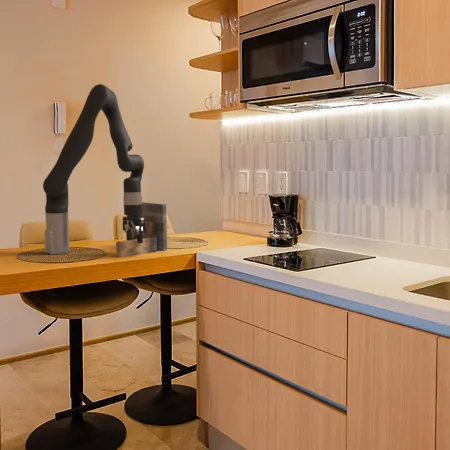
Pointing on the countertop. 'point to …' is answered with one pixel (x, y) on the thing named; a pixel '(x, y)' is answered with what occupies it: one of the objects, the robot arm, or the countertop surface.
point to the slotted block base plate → (154, 224)
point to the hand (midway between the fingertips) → (134, 242)
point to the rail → (136, 247)
